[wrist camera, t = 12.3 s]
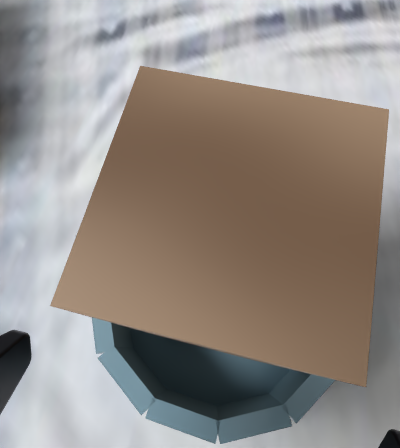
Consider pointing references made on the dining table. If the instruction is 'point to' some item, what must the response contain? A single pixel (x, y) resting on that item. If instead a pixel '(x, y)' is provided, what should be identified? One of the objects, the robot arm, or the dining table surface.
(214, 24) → the dining table surface
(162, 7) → the dining table surface
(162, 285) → the walnut block
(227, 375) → the bowl
